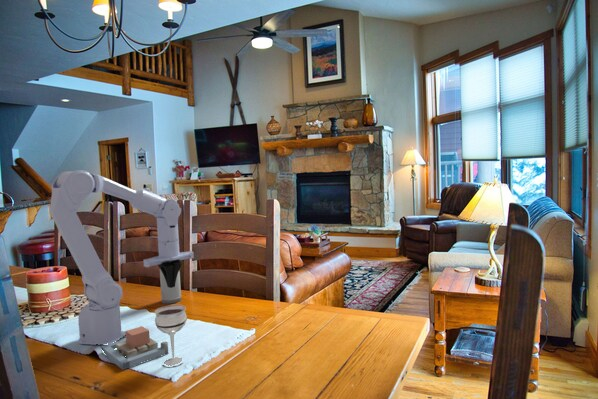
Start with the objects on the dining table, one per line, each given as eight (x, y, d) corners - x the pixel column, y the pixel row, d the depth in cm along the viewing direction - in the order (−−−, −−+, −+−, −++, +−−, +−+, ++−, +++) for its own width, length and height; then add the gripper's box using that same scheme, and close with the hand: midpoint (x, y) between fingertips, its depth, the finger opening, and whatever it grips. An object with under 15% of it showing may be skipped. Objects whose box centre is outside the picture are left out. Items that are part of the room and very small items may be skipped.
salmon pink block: (133, 348, 94) (132, 335, 94) (126, 343, 97) (125, 331, 96) (149, 342, 97) (149, 330, 96) (142, 338, 99) (141, 326, 99)
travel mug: (157, 303, 133) (153, 243, 132) (169, 297, 139) (165, 239, 138) (173, 304, 131) (169, 243, 130) (184, 298, 137) (181, 240, 136)
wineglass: (177, 352, 95) (174, 303, 95) (195, 360, 91) (192, 308, 90) (151, 364, 90) (148, 311, 89) (168, 372, 86) (165, 317, 85)
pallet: (128, 362, 92) (128, 352, 91) (116, 353, 97) (116, 344, 96) (158, 352, 97) (157, 342, 96) (145, 344, 102) (144, 334, 101)
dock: (123, 370, 88) (122, 359, 88) (101, 352, 97) (100, 342, 97) (169, 353, 95) (169, 343, 95) (145, 338, 105) (145, 329, 104)
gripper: (150, 245, 109) (153, 295, 110) (197, 238, 119) (200, 283, 120) (139, 243, 114) (142, 290, 115) (185, 236, 124) (188, 279, 125)
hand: (171, 286), depth 118 cm, fingers closed
